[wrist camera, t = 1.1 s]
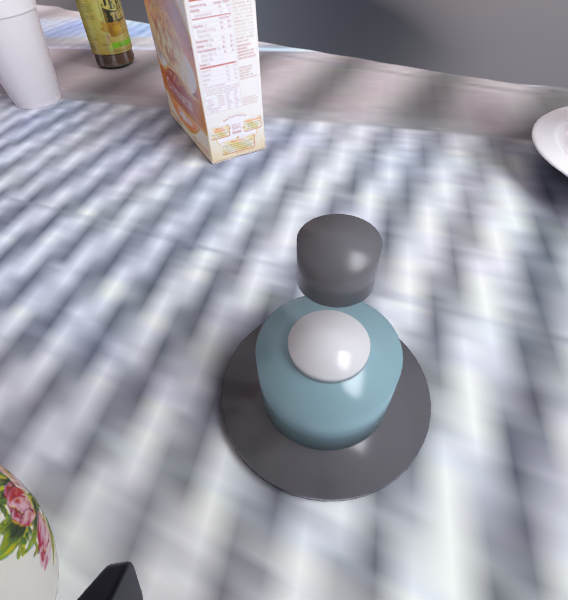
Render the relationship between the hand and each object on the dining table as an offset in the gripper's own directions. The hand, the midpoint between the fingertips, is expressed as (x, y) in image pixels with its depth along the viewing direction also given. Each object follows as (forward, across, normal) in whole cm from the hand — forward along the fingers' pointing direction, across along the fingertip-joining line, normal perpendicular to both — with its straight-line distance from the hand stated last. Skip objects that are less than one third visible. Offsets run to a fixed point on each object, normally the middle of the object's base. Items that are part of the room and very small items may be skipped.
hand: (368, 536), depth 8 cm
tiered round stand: (+17, -1, +6) cm, 18 cm away
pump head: (+12, -2, -2) cm, 12 cm away
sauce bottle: (+69, +20, -31) cm, 79 cm away
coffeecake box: (+48, +5, -15) cm, 50 cm away
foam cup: (+59, +30, -24) cm, 70 cm away
